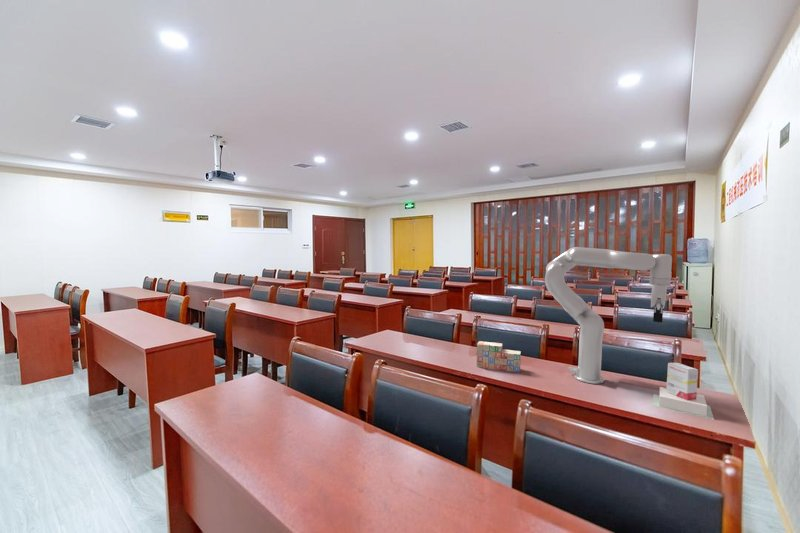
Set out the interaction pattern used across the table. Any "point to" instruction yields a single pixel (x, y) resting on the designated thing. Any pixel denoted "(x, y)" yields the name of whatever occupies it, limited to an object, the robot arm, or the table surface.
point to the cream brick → (683, 403)
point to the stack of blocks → (497, 357)
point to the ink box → (682, 381)
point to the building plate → (656, 404)
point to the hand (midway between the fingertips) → (657, 320)
